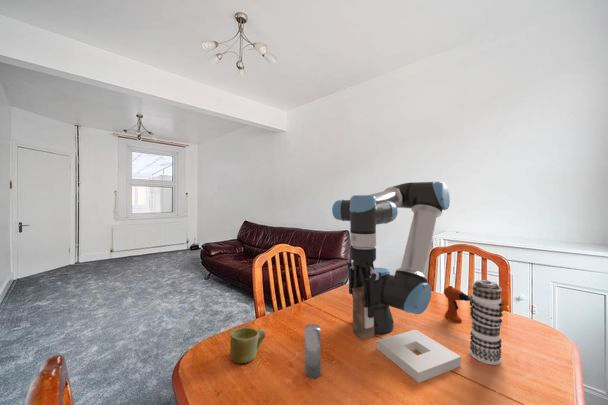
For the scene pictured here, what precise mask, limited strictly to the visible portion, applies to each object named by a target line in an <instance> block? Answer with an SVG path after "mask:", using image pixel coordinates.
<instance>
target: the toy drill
mask: <svg viewBox="0 0 608 405" xmlns="http://www.w3.org/2000/svg"><path fill="white" fill-rule="evenodd" d="M443 290H444V291H443V292H444V296H445V297H446V298H447V303H448V305H447V310H446V311H445V313H444V317H445V319H448V320H449V321H450V322H452V323H455V324H457V323H458V324H460V323H462V321H463V320H462V318H461V317H460V316H459V315H458V309H459V306H458V303H457V301H464V302H469V301H470V296H469V295H468V294H466V293H464V292H463V291H462V290H460V289H457V288H455V287H453V286H452V285H449V286H447V287H445V289H443ZM472 300H473V298H472Z"/></svg>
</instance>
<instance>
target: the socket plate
mask: <svg viewBox="0 0 608 405" xmlns="http://www.w3.org/2000/svg"><path fill="white" fill-rule="evenodd" d="M376 343H377V346H376V348H377V350H378V351H379V352H381V353H382V354H383V355H384V356H386V357H387V359H389V360H390V361H392V362H393V363H394V364H395V365H396V366H397V367H399V368H400V369H401V370H402V371H403V372H405V373H406V374H407V375H408V376H410V377H411V378H412V379H413V380H414V381H416V383H422V382H424V381H427V380H430V379H432V378H435V377H437V376H440V375H442V374H444V373H447V372H449V371H452V370H454V369H457V368H459V367H461V366H462V357H461V356H460V355H459V354H457V353H456V352H454V351H452V350H451V349H449V348H447V347H446V346H444V345H442V344H441V343H439V342H438V341H436V340H434V339H432V337H429V336H427V335H426V334H424V333H423V332H420V331H419V330H417V329H412V330H409V331H406V332H400V333H398V334H395V335H391V336H388V337H384V338H380V339H377V341H376ZM414 351H417V352H419V353H420V354H416V353H415V352H414Z"/></svg>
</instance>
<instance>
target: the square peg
mask: <svg viewBox="0 0 608 405" xmlns="http://www.w3.org/2000/svg"><path fill="white" fill-rule="evenodd" d="M352 290H353V297H352V334H353V335H354V336H356V337H357V338H358V339H359V340H361V341H365V340H369V339H372V338H374V337H375V334H374V317H373V327H370V328H367V329H366V328H364V305H366V300H365V293H364V286H362V287H357V288H353V289H352Z"/></svg>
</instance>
